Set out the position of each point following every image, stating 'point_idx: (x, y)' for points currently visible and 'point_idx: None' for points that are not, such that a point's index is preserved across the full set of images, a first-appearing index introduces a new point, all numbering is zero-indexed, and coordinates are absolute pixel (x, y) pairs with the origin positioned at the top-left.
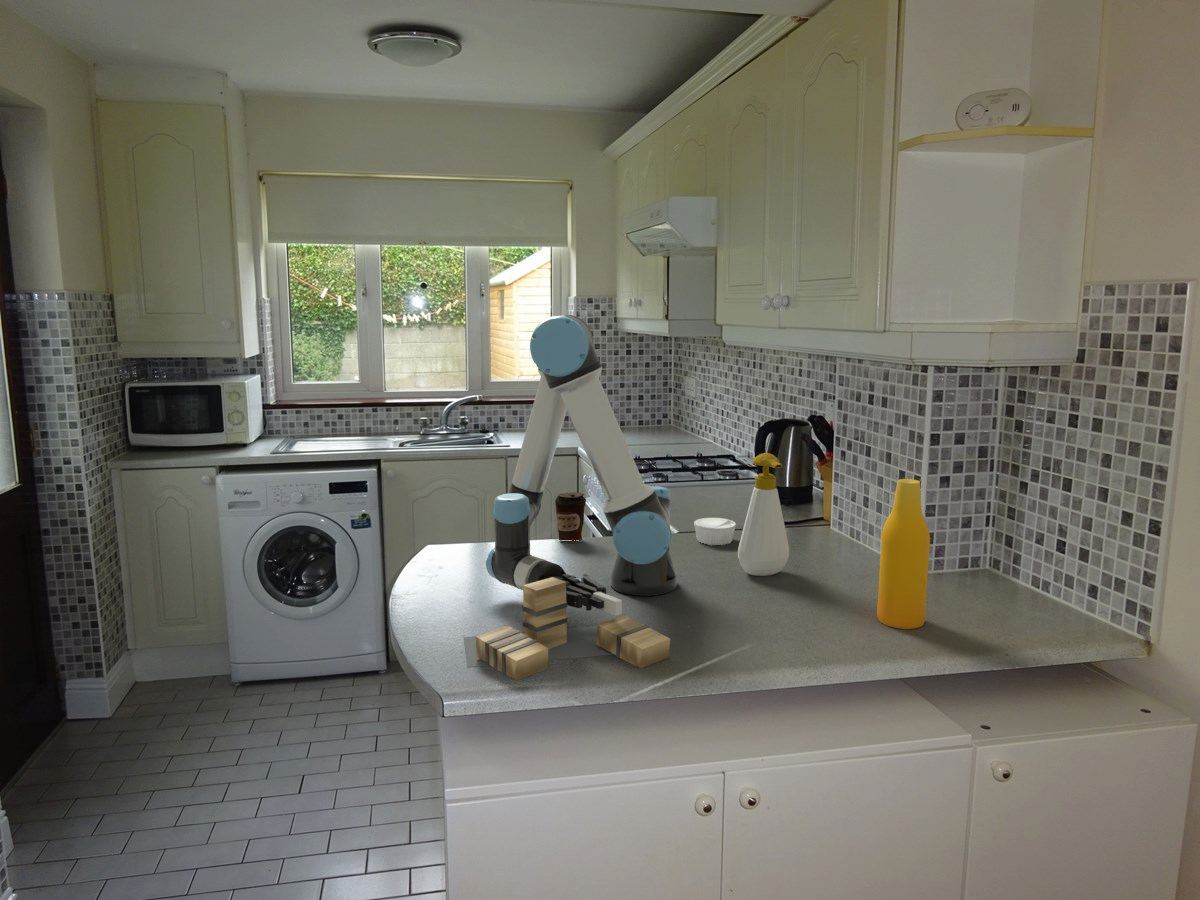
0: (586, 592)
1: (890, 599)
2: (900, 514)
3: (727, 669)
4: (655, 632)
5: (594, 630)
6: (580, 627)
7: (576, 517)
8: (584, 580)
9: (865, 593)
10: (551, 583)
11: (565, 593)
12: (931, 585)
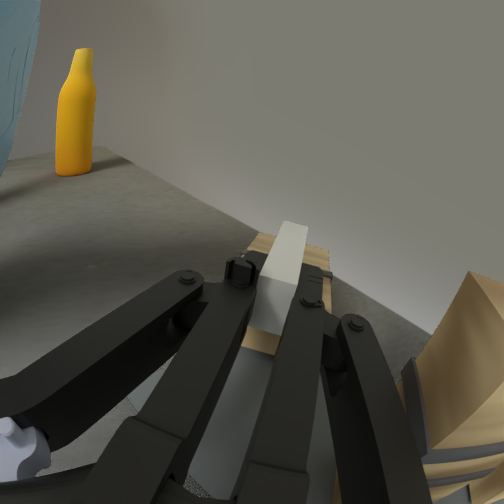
0: (300, 314)
1: (86, 148)
2: (88, 73)
3: (238, 225)
4: (256, 243)
5: None
6: (197, 479)
7: None
8: (40, 414)
9: (9, 183)
10: None
11: (442, 324)
12: (7, 170)
